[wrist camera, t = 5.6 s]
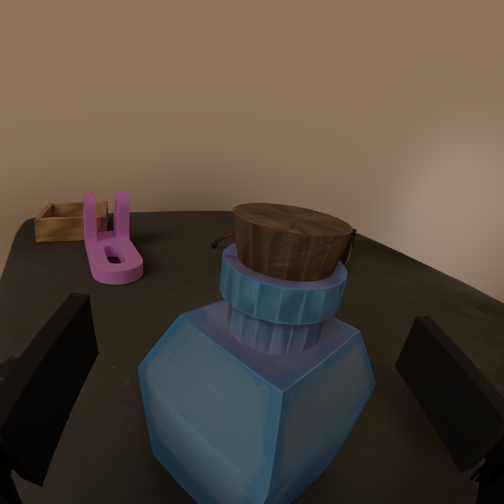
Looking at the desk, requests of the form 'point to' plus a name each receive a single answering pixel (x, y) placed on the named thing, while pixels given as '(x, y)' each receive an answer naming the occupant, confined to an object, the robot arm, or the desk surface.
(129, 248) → the bracket
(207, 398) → the blue bottle with cork
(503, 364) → the desk surface
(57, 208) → the holder
